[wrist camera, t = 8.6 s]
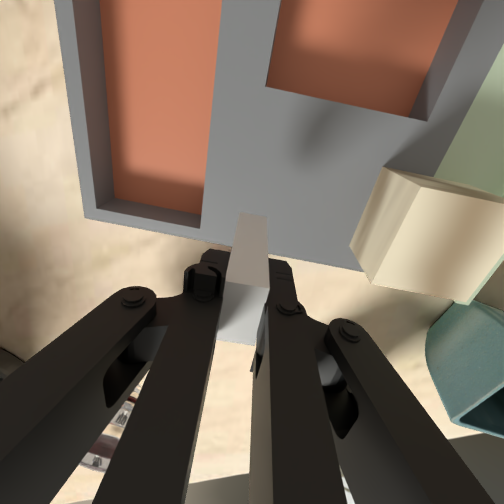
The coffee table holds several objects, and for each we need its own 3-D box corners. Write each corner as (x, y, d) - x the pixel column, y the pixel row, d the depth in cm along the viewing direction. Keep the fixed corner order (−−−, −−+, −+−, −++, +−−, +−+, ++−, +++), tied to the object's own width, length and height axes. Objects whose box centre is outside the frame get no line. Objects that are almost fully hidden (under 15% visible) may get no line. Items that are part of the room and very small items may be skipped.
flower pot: (456, 273, 24) (546, 353, 16) (534, 302, 25) (654, 390, 17) (398, 336, 28) (448, 423, 20) (467, 358, 29) (539, 450, 21)
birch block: (349, 245, 20) (371, 284, 16) (382, 166, 17) (420, 186, 13) (423, 260, 20) (465, 302, 16) (469, 184, 17) (536, 210, 13)
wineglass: (124, 340, 31) (50, 457, 21) (142, 303, 28) (66, 419, 18) (176, 361, 33) (132, 482, 22) (198, 328, 30) (159, 450, 19)
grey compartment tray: (106, 205, 23) (67, 228, 19) (70, -168, 13) (-30, -305, 9) (432, 269, 24) (468, 305, 20) (622, -31, 14) (778, -93, 10)
